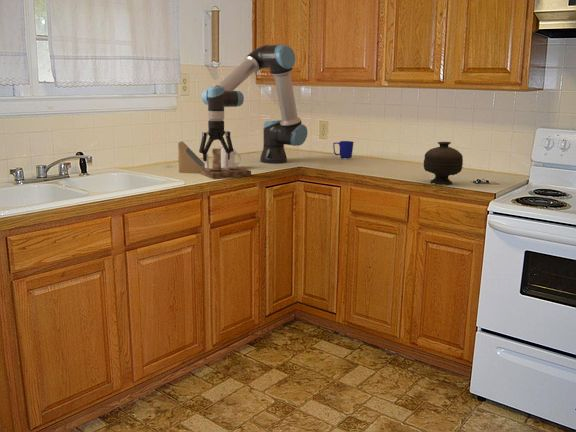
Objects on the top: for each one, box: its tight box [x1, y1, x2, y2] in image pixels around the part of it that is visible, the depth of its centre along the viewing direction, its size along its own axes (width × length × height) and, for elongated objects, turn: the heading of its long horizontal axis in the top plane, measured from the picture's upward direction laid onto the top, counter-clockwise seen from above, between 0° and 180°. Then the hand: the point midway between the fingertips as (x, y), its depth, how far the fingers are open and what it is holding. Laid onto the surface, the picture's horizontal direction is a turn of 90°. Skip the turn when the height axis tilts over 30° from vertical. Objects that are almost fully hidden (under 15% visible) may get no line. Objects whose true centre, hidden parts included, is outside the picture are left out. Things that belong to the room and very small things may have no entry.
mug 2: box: [332, 140, 354, 159], centre depth 345 cm, size 8×12×10 cm
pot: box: [423, 141, 464, 185], centre depth 268 cm, size 18×18×20 cm
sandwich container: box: [177, 140, 210, 175], centre depth 284 cm, size 9×15×15 cm, turn 87°
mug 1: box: [218, 146, 242, 168], centre depth 297 cm, size 9×12×11 cm
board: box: [201, 166, 252, 180], centre depth 278 cm, size 20×14×2 cm
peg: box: [211, 147, 221, 172], centre depth 275 cm, size 4×4×13 cm
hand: (216, 167), depth 275 cm, fingers open, 9 cm apart
